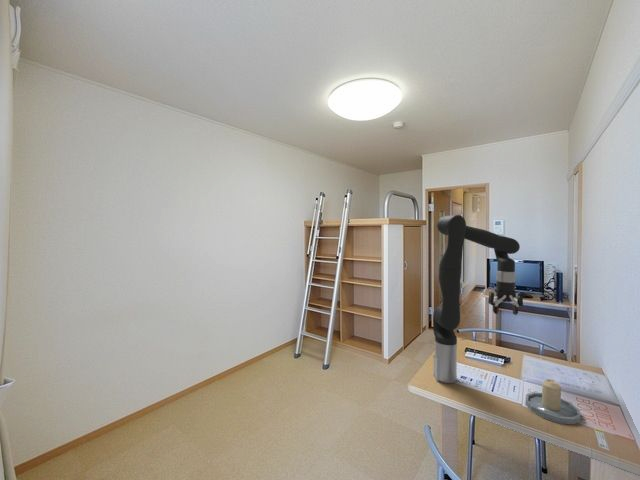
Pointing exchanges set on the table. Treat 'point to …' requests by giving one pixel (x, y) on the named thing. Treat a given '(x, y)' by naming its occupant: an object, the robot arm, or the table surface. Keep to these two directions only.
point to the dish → (564, 416)
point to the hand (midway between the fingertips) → (505, 313)
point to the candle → (551, 395)
